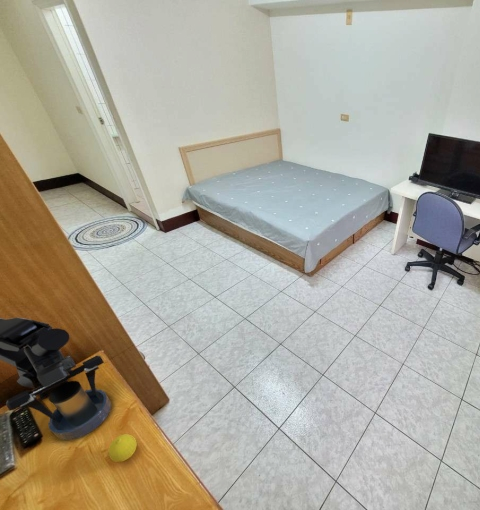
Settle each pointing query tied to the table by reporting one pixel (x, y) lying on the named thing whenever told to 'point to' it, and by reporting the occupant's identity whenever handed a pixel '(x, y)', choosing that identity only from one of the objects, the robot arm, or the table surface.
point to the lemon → (122, 448)
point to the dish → (72, 432)
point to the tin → (73, 403)
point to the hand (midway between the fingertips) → (75, 406)
